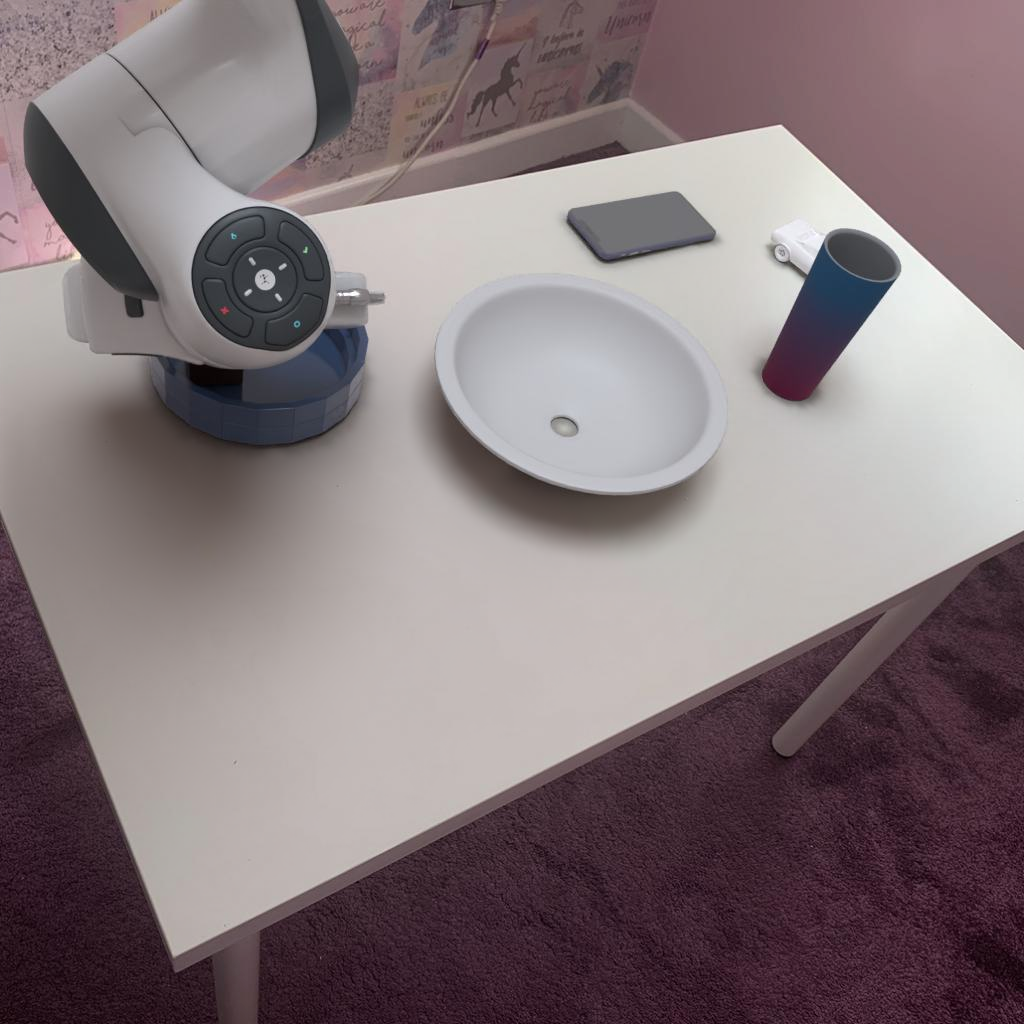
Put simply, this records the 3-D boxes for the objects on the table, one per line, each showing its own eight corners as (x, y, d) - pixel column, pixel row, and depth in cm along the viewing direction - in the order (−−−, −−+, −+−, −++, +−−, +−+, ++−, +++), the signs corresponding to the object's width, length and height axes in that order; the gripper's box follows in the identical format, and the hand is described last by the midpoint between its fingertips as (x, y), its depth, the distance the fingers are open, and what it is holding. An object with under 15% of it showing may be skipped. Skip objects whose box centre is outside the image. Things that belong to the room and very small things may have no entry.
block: (189, 386, 81) (188, 285, 74) (184, 349, 84) (182, 248, 76) (242, 383, 83) (246, 285, 75) (236, 347, 85) (239, 248, 77)
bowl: (160, 457, 78) (158, 415, 74) (142, 304, 87) (139, 261, 83) (379, 442, 83) (386, 403, 80) (341, 300, 92) (346, 259, 89)
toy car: (845, 316, 107) (861, 291, 105) (759, 246, 112) (772, 220, 109) (875, 299, 110) (891, 274, 108) (790, 232, 114) (803, 206, 112)
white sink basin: (396, 330, 91) (407, 270, 86) (647, 327, 99) (671, 272, 94) (456, 556, 78) (474, 501, 73) (741, 533, 86) (774, 482, 81)
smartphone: (720, 233, 110) (605, 256, 103) (716, 240, 110) (602, 264, 103) (678, 189, 113) (564, 208, 106) (675, 196, 114) (562, 216, 107)
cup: (739, 374, 98) (809, 245, 87) (777, 345, 102) (849, 218, 90) (797, 419, 96) (877, 293, 85) (834, 387, 100) (915, 263, 88)
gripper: (390, 246, 70) (347, 265, 82) (53, 247, 63) (63, 267, 75) (395, 344, 71) (351, 347, 83) (63, 354, 64) (71, 356, 76)
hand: (212, 309), depth 79 cm, fingers closed on block, 4 cm apart
